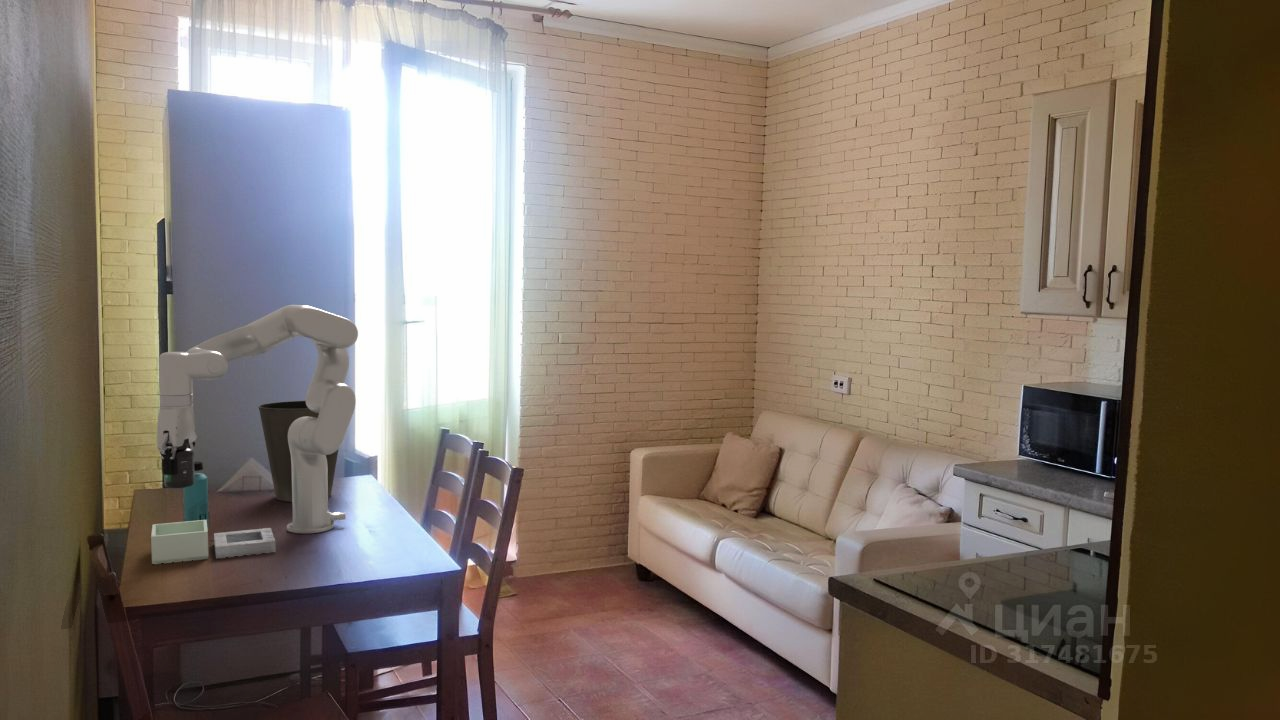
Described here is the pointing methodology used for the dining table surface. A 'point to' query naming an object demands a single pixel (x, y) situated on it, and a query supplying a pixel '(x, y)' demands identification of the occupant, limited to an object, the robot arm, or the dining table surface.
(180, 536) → the bin
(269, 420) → the waste basket
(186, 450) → the supplement bottle
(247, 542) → the socket block
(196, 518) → the beverage bottle
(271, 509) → the dining table surface
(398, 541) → the dining table surface
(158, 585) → the dining table surface
